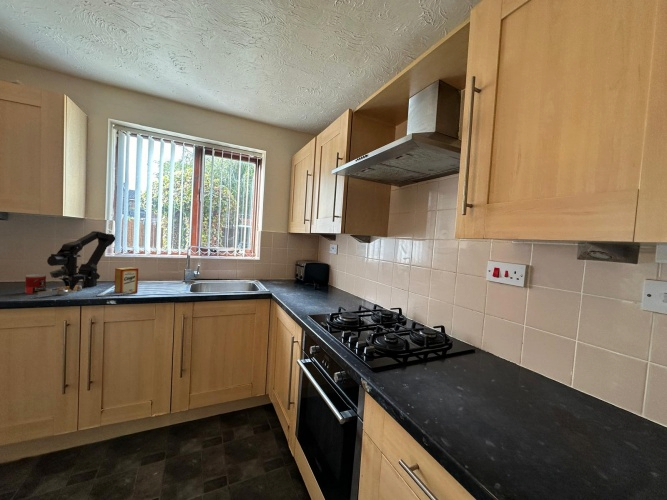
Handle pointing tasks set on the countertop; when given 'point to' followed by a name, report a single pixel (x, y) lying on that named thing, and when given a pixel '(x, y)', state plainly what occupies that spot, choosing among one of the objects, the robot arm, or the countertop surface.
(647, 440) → the countertop surface
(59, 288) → the orange rectangular bar
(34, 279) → the canned food
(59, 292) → the crank handle
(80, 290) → the tool board
